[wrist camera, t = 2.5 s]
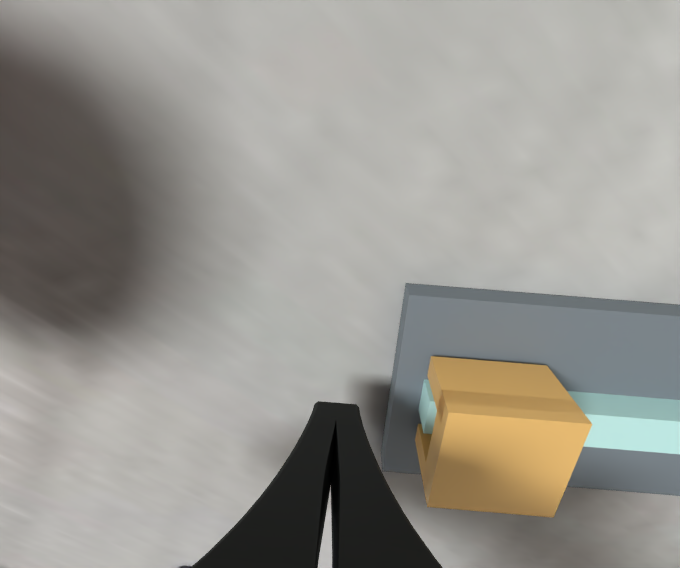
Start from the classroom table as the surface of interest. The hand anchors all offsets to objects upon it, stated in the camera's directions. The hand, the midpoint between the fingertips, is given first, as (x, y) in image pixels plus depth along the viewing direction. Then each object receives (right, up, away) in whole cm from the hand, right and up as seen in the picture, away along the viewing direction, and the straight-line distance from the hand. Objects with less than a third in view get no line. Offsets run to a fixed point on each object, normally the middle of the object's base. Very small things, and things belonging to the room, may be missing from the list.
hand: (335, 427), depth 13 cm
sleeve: (+5, 0, +2) cm, 5 cm away
